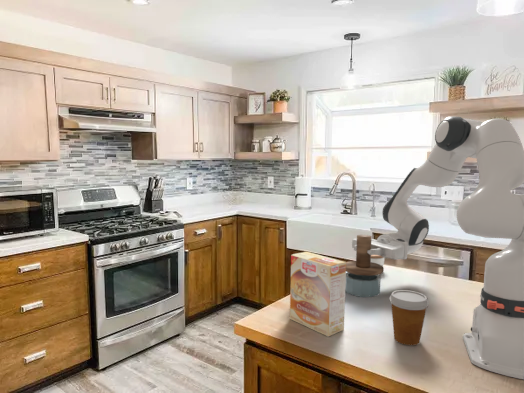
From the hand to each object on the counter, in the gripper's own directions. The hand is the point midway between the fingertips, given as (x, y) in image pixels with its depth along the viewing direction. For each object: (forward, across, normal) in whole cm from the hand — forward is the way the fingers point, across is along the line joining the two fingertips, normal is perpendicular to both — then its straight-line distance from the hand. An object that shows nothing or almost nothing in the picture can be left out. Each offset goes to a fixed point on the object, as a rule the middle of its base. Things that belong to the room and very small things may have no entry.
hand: (361, 250), depth 137 cm
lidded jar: (-23, -16, +15) cm, 32 cm away
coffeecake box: (+32, +13, +15) cm, 38 cm away
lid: (-1, 0, +7) cm, 7 cm away
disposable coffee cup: (+17, +33, +15) cm, 40 cm away
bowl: (-1, 0, +15) cm, 15 cm away
